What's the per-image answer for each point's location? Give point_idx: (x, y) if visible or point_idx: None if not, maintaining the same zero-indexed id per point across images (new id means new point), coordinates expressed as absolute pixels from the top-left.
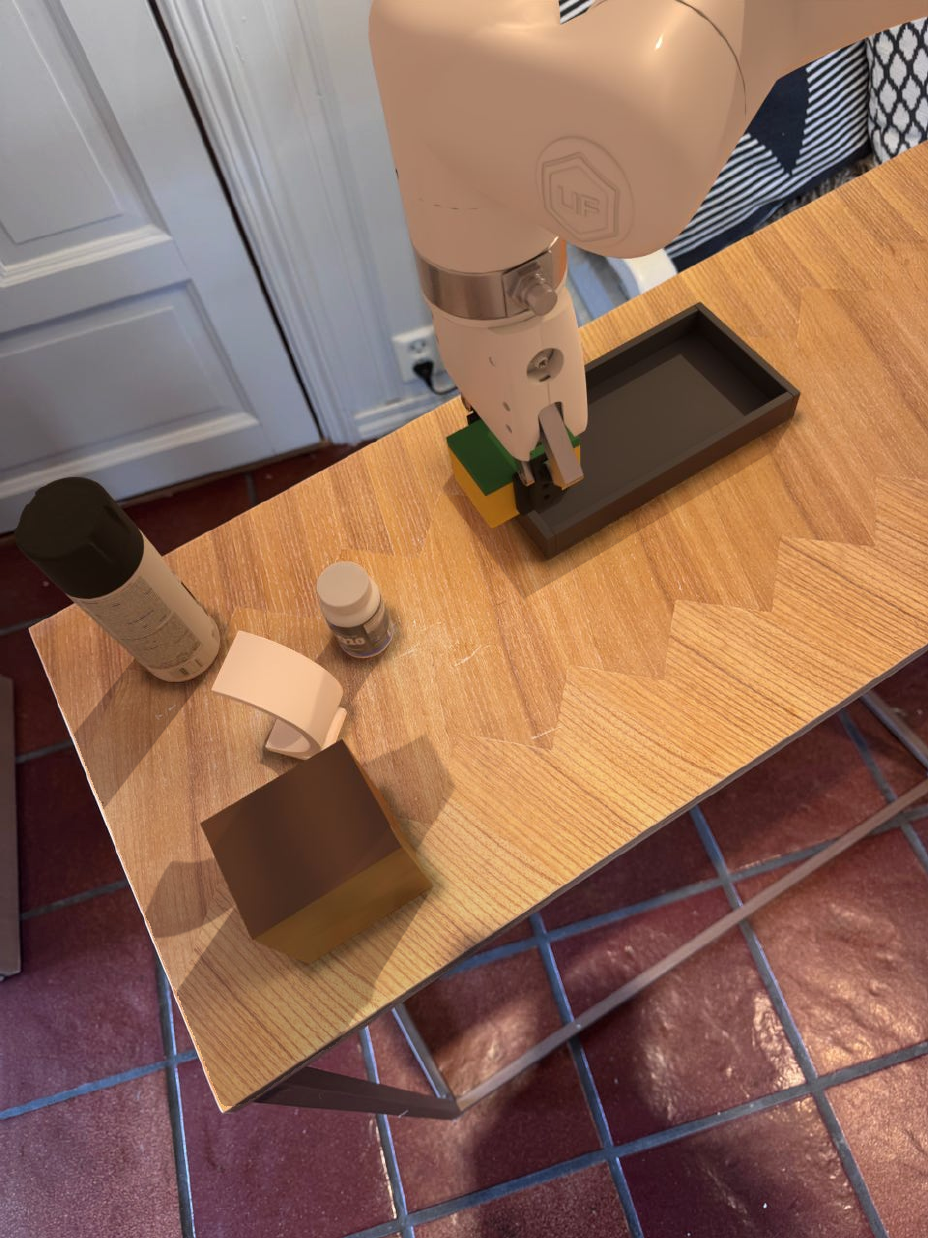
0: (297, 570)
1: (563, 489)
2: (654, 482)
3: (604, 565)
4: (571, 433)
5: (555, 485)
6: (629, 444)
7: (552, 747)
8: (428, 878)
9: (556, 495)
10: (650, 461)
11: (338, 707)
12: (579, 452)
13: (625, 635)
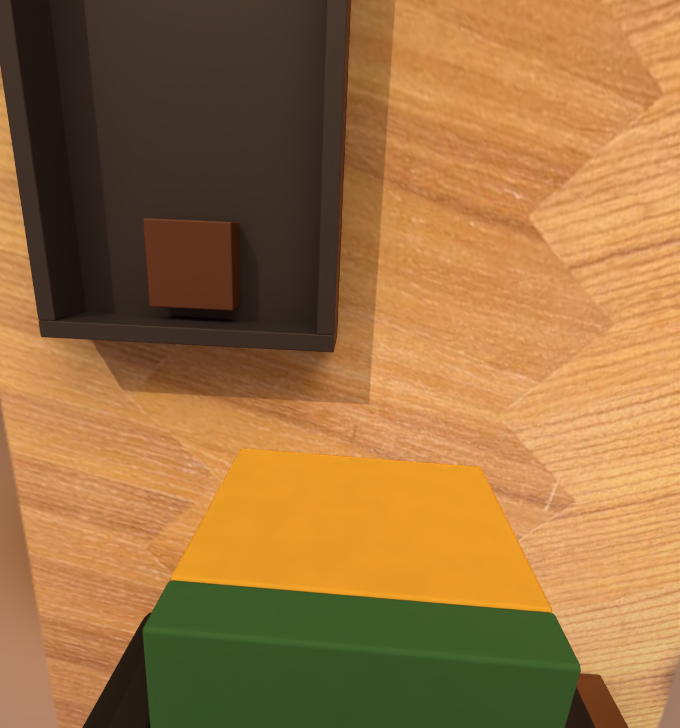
0: (145, 603)
1: (239, 238)
2: (344, 94)
3: (400, 270)
4: (525, 679)
5: (590, 724)
6: (220, 61)
7: (574, 498)
8: (607, 695)
9: None
10: (278, 53)
11: None
12: (535, 577)
13: (519, 323)
